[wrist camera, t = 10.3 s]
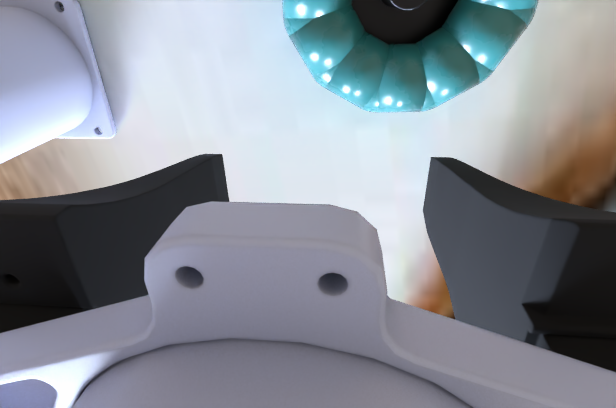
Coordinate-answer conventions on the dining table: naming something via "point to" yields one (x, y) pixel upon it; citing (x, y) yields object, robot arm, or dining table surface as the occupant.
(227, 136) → the dining table surface
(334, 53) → the ring
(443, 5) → the hook stand
